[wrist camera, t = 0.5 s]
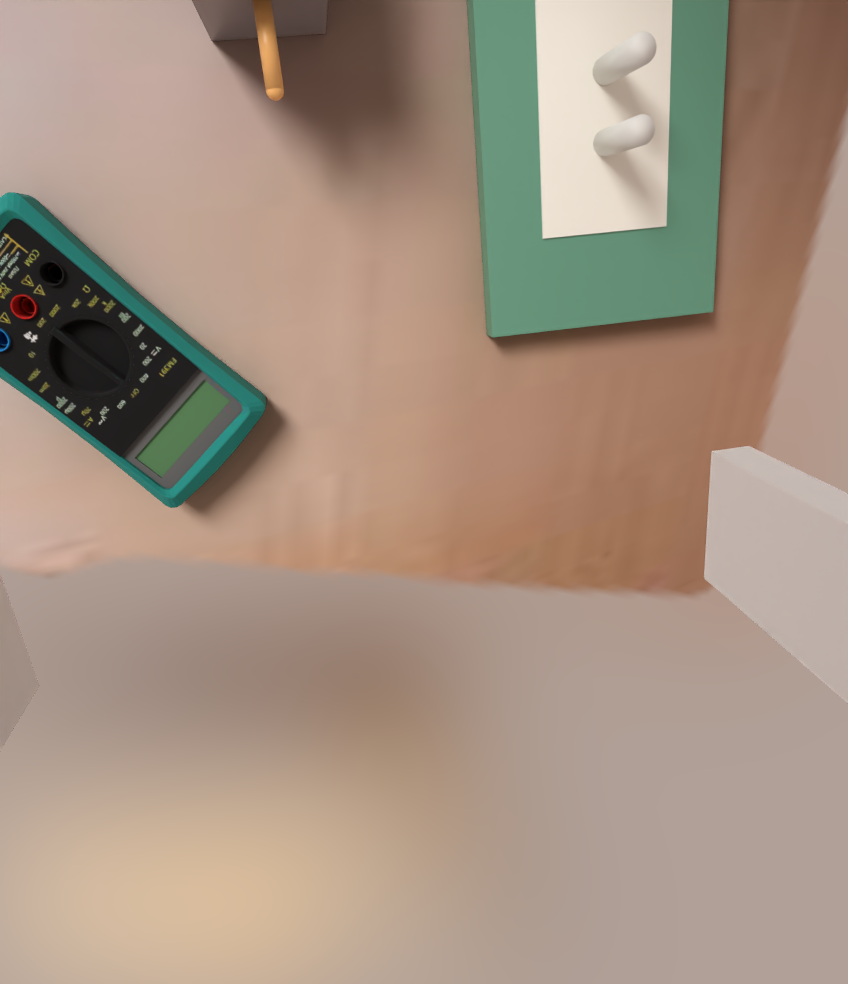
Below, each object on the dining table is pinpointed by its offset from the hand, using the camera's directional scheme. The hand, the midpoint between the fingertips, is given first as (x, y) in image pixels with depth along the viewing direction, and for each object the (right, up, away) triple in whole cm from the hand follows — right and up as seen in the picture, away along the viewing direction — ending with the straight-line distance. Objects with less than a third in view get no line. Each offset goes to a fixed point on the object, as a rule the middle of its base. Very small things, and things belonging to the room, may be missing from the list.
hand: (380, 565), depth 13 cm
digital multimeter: (-15, +8, +22) cm, 28 cm away
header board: (+9, +20, +21) cm, 30 cm away
